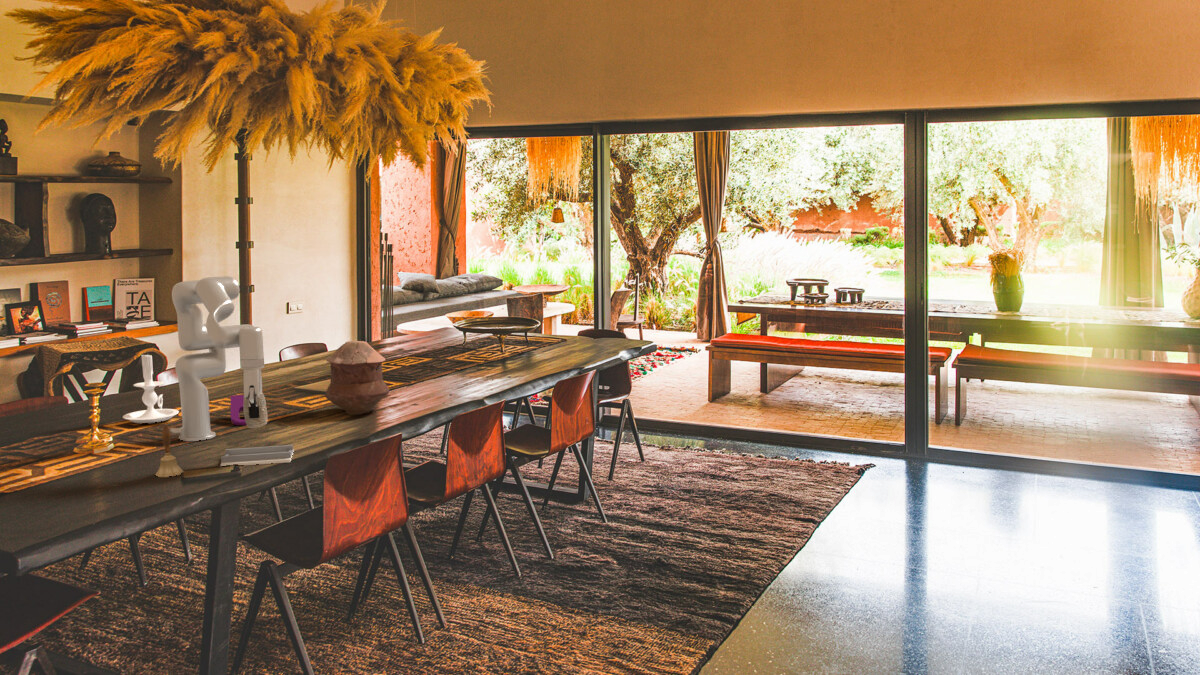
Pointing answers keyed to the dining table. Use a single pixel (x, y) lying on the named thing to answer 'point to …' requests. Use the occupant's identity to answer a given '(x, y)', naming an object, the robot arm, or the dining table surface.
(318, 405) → the dining table surface
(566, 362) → the dining table surface
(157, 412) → the candlestick
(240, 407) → the mounting bracket
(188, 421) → the robot arm
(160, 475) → the hand bell
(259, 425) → the carving
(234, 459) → the rail plate
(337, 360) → the pottery vessel
